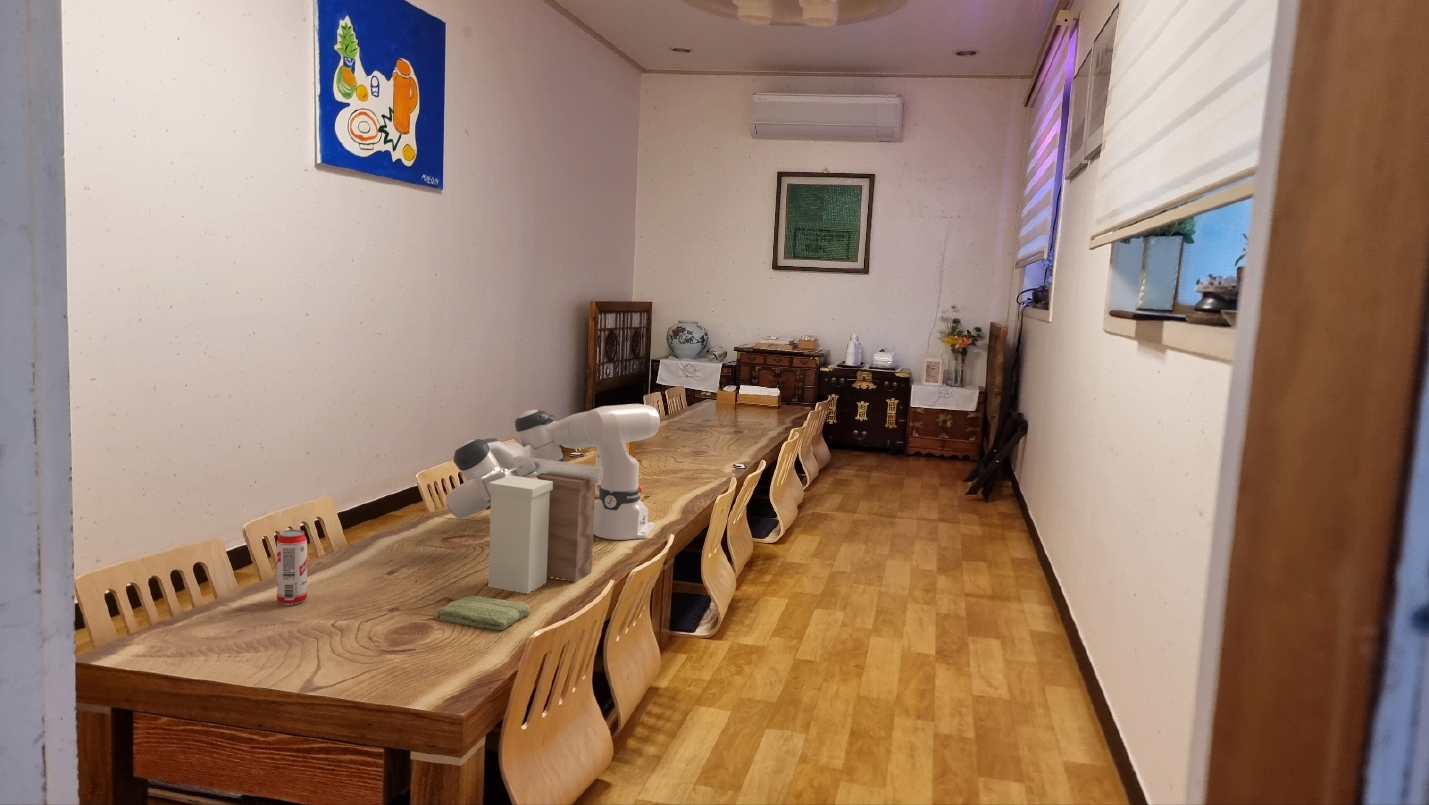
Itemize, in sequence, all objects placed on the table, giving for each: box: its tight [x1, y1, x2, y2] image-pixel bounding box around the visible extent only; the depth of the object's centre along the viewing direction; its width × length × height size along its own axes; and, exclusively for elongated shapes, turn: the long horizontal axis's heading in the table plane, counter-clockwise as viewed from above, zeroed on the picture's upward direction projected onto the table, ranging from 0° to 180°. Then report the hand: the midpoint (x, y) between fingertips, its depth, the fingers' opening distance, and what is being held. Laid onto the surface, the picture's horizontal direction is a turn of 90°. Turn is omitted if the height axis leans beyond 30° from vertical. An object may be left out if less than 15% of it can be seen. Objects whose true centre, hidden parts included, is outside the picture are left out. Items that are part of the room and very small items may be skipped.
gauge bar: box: [513, 456, 603, 481], centre depth 244 cm, size 3×24×3 cm, turn 71°
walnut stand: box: [536, 474, 598, 583], centre depth 245 cm, size 10×12×26 cm
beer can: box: [276, 529, 308, 606], centre depth 215 cm, size 6×6×16 cm
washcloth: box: [435, 595, 531, 631], centre depth 214 cm, size 13×18×3 cm
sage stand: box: [487, 475, 553, 595], centre depth 234 cm, size 10×12×26 cm
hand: (539, 464), depth 245 cm, fingers closed on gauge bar, 3 cm apart
